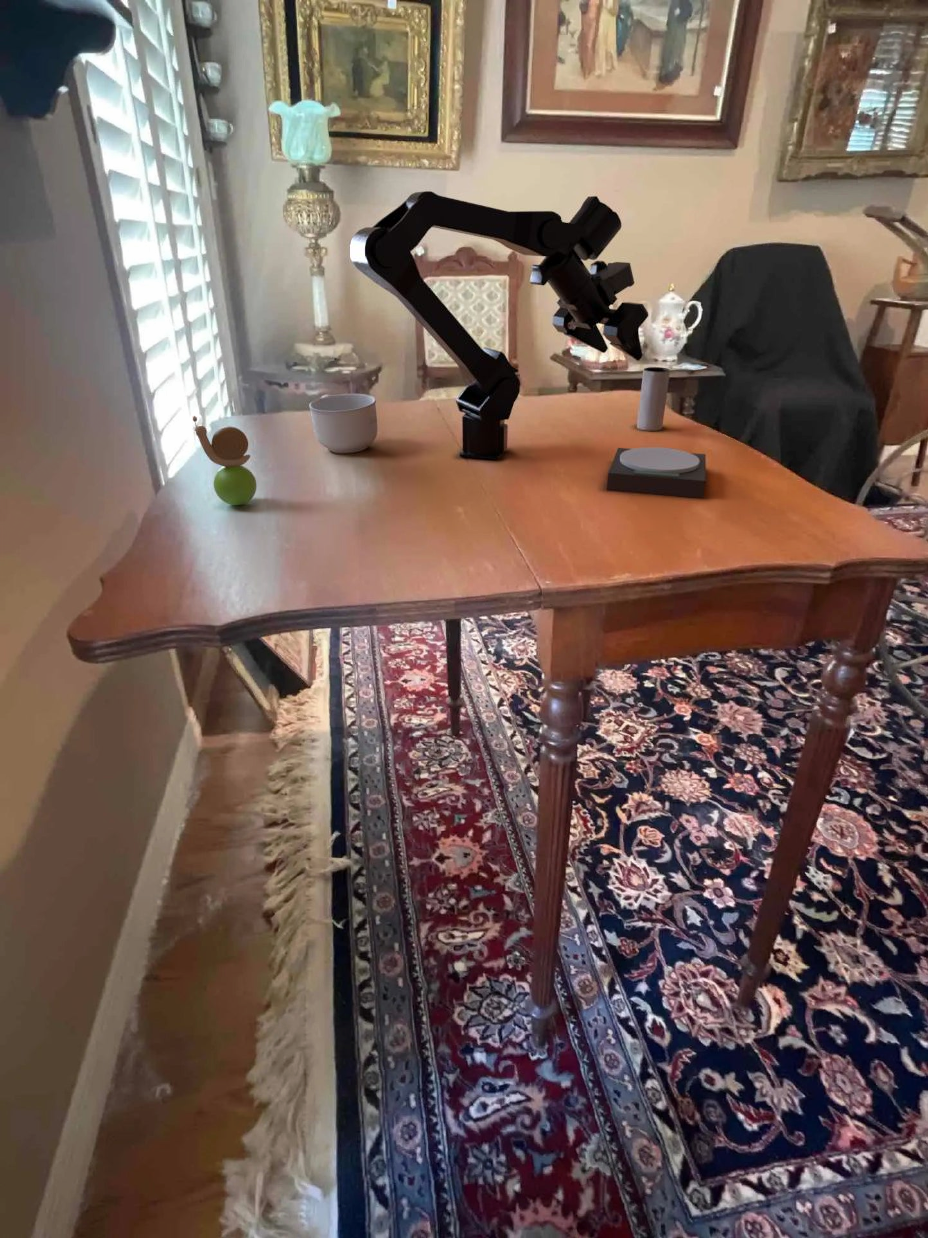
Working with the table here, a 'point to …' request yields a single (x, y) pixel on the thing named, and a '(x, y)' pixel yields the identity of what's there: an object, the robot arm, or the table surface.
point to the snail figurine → (229, 463)
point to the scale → (658, 472)
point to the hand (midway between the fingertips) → (622, 354)
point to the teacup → (344, 421)
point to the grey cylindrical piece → (653, 398)
